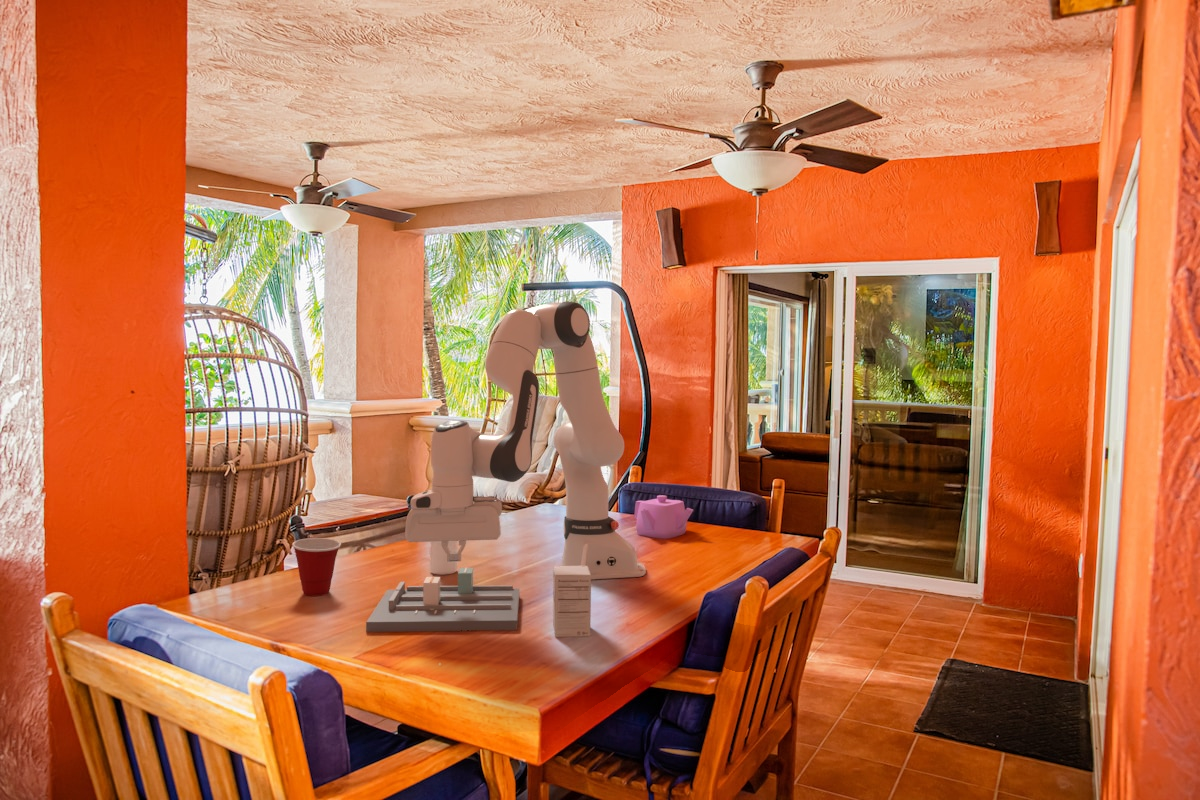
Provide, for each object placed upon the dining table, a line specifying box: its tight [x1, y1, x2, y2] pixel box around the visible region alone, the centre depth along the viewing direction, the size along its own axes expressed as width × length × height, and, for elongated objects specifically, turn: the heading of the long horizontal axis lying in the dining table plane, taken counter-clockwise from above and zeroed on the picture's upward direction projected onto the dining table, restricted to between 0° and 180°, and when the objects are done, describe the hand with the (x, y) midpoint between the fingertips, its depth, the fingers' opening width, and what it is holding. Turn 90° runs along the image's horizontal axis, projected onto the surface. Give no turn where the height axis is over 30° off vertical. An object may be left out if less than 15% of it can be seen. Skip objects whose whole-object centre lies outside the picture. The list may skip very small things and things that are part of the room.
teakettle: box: [633, 494, 694, 540], centre depth 268 cm, size 17×17×12 cm
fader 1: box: [422, 576, 441, 605], centre depth 180 cm, size 3×5×5 cm, turn 4°
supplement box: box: [552, 565, 592, 638], centre depth 169 cm, size 7×7×13 cm
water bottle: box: [428, 541, 458, 576], centre depth 216 cm, size 7×7×25 cm
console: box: [365, 581, 520, 633], centre depth 180 cm, size 30×24×4 cm
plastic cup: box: [291, 537, 342, 597], centre depth 195 cm, size 11×11×12 cm
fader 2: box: [457, 566, 474, 594], centre depth 189 cm, size 3×5×5 cm, turn 4°
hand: (454, 560), depth 180 cm, fingers closed
